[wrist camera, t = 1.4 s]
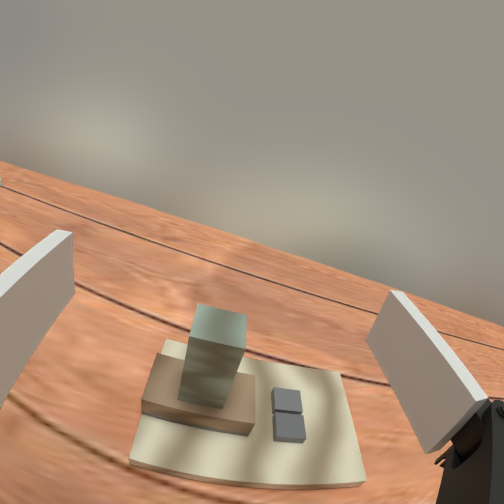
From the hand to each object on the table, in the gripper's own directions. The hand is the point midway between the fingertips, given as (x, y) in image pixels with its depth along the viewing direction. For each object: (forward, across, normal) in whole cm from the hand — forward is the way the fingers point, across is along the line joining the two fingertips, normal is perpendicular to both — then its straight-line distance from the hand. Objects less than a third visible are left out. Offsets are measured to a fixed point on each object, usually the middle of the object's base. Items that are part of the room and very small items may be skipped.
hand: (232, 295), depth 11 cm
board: (+8, +6, -20) cm, 23 cm away
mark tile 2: (+10, +9, -19) cm, 23 cm away
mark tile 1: (+6, +9, -19) cm, 22 cm away
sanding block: (+9, 0, -18) cm, 20 cm away
